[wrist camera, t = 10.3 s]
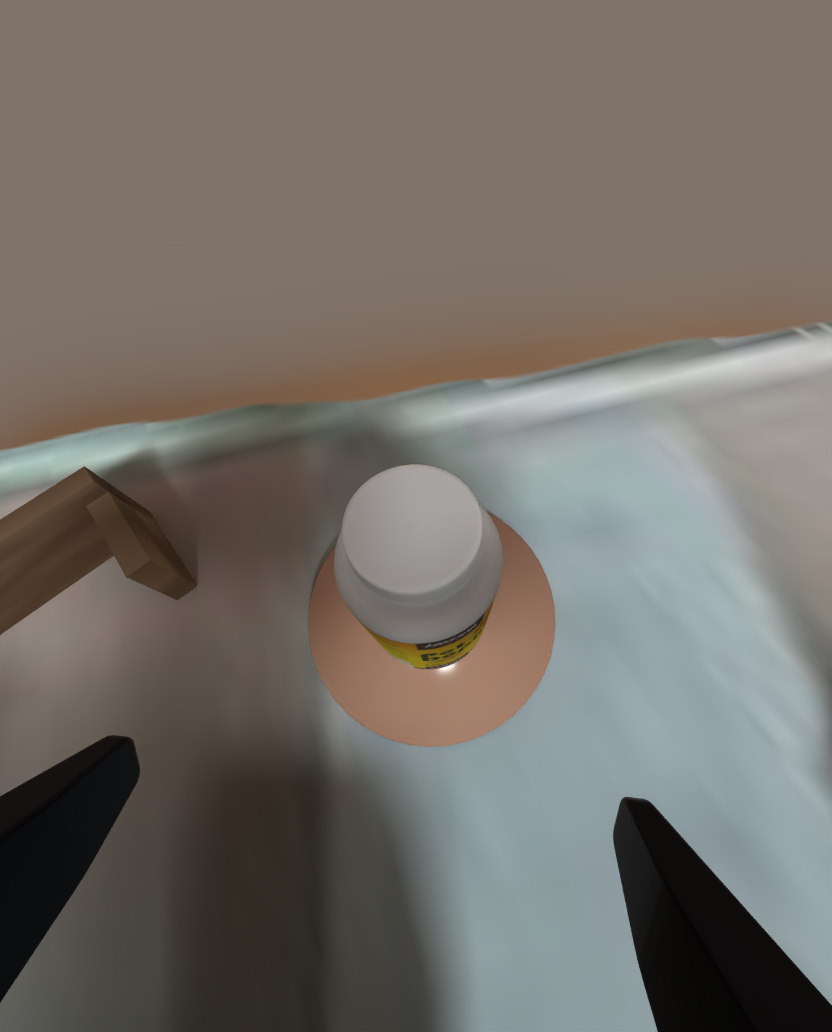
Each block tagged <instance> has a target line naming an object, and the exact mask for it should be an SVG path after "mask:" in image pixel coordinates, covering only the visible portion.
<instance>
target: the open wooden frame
mask: <svg viewBox="0 0 832 1032" xmlns="http://www.w3.org/2000/svg"><path fill="white" fill-rule="evenodd" d="M113 555H114V556H115V558H116V560H117V561H118V563H119V565H120V567H121V568H122V570H123V572H124V574H125V575H126V577H127V578H129V579H132V580H134V581H136V582H138V583H141V584H143V585H145V586H147V587H150V588H152V589H154V590H156V591H158V592H161V593H163V594H165V595H167V596H170V597H172V598H174V599H176V600H178V599H180V598H181V597H182V596H184V595H185V594H186V593H188V592H189V591H190V590H191V589H193V588H194V587H195V586H197V585H196V583H195V582H194V580H193V579H192V577H191V575H190V574H189V572H188V571H187V569H186V568H185V566H184V565H183V563H182V562H181V560H180V558H179V557H178V555H177V554H176V552H175V551H174V549H173V548H172V546H171V545H170V543H169V541H168V540H167V538H166V537H165V535H164V534H163V532H162V531H161V529H160V528H159V526H158V525H157V523H156V521H155V520H154V518H153V517H152V515H151V514H150V512H149V511H148V510H146V509H145V508H143V507H142V506H141V505H139V504H138V503H136V502H135V501H133V500H132V499H131V498H129V497H128V496H126V495H125V494H123V493H122V492H120V491H119V490H118V489H116V488H115V487H113V486H112V485H110V484H109V483H108V482H106V481H105V480H103V479H102V478H100V477H99V476H97V475H96V474H95V473H93V472H92V471H90V470H89V469H87V468H86V467H85V466H84V467H83V468H81V469H79V470H78V471H76V472H75V473H73V474H71V475H70V476H68V477H67V478H65V479H64V480H62V481H60V482H59V483H57V484H56V485H54V486H53V487H51V488H49V489H48V490H46V491H45V492H43V493H42V494H40V495H38V496H37V497H35V498H34V499H32V500H31V501H29V502H27V503H26V504H24V505H23V506H21V507H20V508H18V509H16V510H15V511H13V512H12V513H10V514H8V515H7V516H5V517H4V518H2V519H1V520H0V634H2V633H3V632H5V631H6V630H8V629H9V628H10V627H12V626H13V625H15V624H16V623H18V622H19V621H20V620H22V619H23V618H25V617H26V616H28V615H29V614H30V613H32V612H33V611H35V610H36V609H38V608H39V607H40V606H42V605H43V604H45V603H46V602H48V601H49V600H50V599H52V598H53V597H55V596H56V595H58V594H59V593H60V592H62V591H63V590H65V589H66V588H68V587H69V586H70V585H72V584H73V583H75V582H76V581H78V580H79V579H81V578H82V577H83V576H85V575H86V574H88V573H89V572H91V571H92V570H93V569H95V568H96V567H98V566H99V565H101V564H102V563H103V562H105V561H106V560H108V559H109V558H111V557H112V556H113Z"/></svg>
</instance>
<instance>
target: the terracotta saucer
mask: <svg viewBox="0 0 832 1032" xmlns="http://www.w3.org/2000/svg"><path fill="white" fill-rule="evenodd" d="M487 513H488V512H487ZM488 514H489V513H488ZM489 516H490V517H491V519H492V521H493V522H494V524H495V526H496V528H497V530H498V533H499V536H500V540H501V544H502V549H503V570H502V576H501V581H500V584H499V588H498V591H497V593H496V596H495V599H494V602H493V605H492V608H491V611H490V614H489V616H488V620H487V622H486V625H485V628H484V631H483V633H482V635H481V637H480V639H479V641H478V643H477V644H476V645H475V647H474V648H473V649H472V650H471V651H470V652H469V653H468V654H467V655H466V656H465V657H464V658H462V659H461V660H459V661H458V662H456V663H454V664H452V665H450V666H447V667H444V668H440V669H433V670H425V669H417V668H413V667H410V666H407V665H405V664H402V663H401V662H399V661H397V660H396V659H394V658H393V657H391V656H390V655H389V654H388V653H387V652H386V651H385V650H384V649H383V648H382V647H381V646H380V644H379V643H378V642H377V641H376V640H375V639H374V638H373V637H372V636H371V634H370V633H369V632H368V631H367V630H366V629H365V628H364V627H363V626H362V624H361V623H360V622H359V621H358V620H357V619H356V618H355V616H354V615H353V614H352V613H351V611H350V610H349V608H348V607H347V605H346V604H345V602H344V600H343V598H342V596H341V594H340V592H339V589H338V586H337V583H336V578H335V572H334V554H335V548H336V546H335V548H334V549H333V550H332V551H331V553H330V554H329V556H328V558H327V559H326V561H325V562H324V564H323V566H322V568H321V570H320V573H319V575H318V577H317V579H316V582H315V586H314V589H313V592H312V596H311V602H310V607H309V622H308V626H309V640H310V645H311V650H312V655H313V658H314V661H315V664H316V667H317V670H318V672H319V674H320V676H321V678H322V680H323V682H324V684H325V686H326V688H327V689H328V691H329V692H330V693H331V695H332V696H333V698H334V699H335V701H336V702H337V703H338V704H339V705H340V706H341V707H342V708H343V709H344V710H345V711H346V712H347V714H349V715H350V716H351V717H352V718H354V719H355V720H356V721H357V722H359V723H360V724H361V725H363V726H364V727H366V728H368V729H369V730H371V731H373V732H375V733H376V734H379V735H381V736H383V737H386V738H388V739H391V740H393V741H397V742H401V743H405V744H409V745H418V746H428V747H430V746H448V745H452V744H457V743H462V742H466V741H469V740H472V739H474V738H477V737H480V736H483V735H484V734H486V733H488V732H490V731H492V730H494V729H495V728H497V727H499V726H500V725H502V724H503V723H504V722H506V721H507V720H508V719H509V718H511V717H512V716H513V715H514V714H515V713H516V712H517V711H518V710H519V709H520V708H521V707H522V706H523V705H524V704H525V703H526V702H527V701H528V699H529V698H530V696H531V695H532V694H533V692H534V691H535V690H536V688H537V686H538V684H539V683H540V681H541V679H542V677H543V675H544V673H545V670H546V668H547V665H548V662H549V660H550V657H551V652H552V648H553V643H554V635H555V609H554V602H553V597H552V592H551V589H550V586H549V583H548V580H547V577H546V574H545V572H544V570H543V568H542V566H541V564H540V562H539V560H538V559H537V557H536V556H535V554H534V553H533V551H532V550H531V548H530V547H529V546H528V545H527V543H526V542H525V541H524V540H523V539H522V538H521V537H520V536H519V535H518V534H517V533H516V532H515V531H514V530H513V529H512V528H511V527H510V526H508V525H507V524H505V523H504V522H503V521H501V520H500V519H498V518H497V517H495V516H493V515H491V514H489Z"/></svg>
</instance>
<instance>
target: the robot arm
mask: <svg viewBox="0 0 832 1032" xmlns="http://www.w3.org/2000/svg"><path fill="white" fill-rule="evenodd" d="M139 774H140V766H139V762H138V757H137V753H136V749H135V745H134V742H133V740H132V739H131V738H130V737H124V736H116V735H111V736H107V737H105V738H103V739H101V740H99V741H97V742H96V743H94V744H92V745H90V746H89V747H87V748H85V749H83V750H82V751H80V752H78V753H76V754H74V755H73V756H71V757H69V758H67V759H66V760H64V761H62V762H60V763H58V764H57V765H55V766H53V767H51V768H50V769H48V770H46V771H44V772H43V773H41V774H39V775H37V776H35V777H34V778H32V779H30V780H28V781H27V782H25V783H23V784H21V785H19V786H18V787H16V788H14V789H12V790H11V791H9V792H7V793H5V794H4V795H2V796H0V1002H1V1001H2V999H3V998H4V996H5V995H6V993H7V992H8V990H9V989H10V987H11V986H12V984H13V983H14V981H15V980H16V978H17V977H18V975H19V974H20V972H21V971H22V969H23V968H24V966H25V965H26V963H27V962H28V960H29V959H30V957H31V956H32V954H33V953H34V951H35V950H36V948H37V947H38V945H39V944H40V942H41V941H42V939H43V938H44V936H45V934H46V933H47V931H48V930H49V928H50V927H51V925H52V924H53V922H54V921H55V919H56V918H57V916H58V915H59V913H60V912H61V910H62V909H63V907H64V906H65V904H66V903H67V901H68V900H69V898H70V897H71V895H72V894H73V892H74V891H75V889H76V888H77V886H78V885H79V883H80V881H81V880H82V878H83V877H84V875H85V873H86V872H87V870H88V868H89V867H90V865H91V863H92V862H93V860H94V858H95V856H96V855H97V853H98V851H99V849H100V848H101V846H102V844H103V842H104V840H105V839H106V837H107V835H108V833H109V832H110V830H111V828H112V826H113V824H114V823H115V821H116V819H117V817H118V816H119V814H120V812H121V810H122V808H123V807H124V805H125V803H126V801H127V800H128V798H129V796H130V794H131V792H132V791H133V789H134V787H135V785H136V783H137V781H138V778H139ZM613 841H614V848H615V853H616V858H617V863H618V868H619V873H620V878H621V883H622V887H623V892H624V897H625V902H626V907H627V912H628V917H629V922H630V927H631V932H632V937H633V942H634V946H635V951H636V955H637V960H638V964H639V968H640V971H641V975H642V979H643V982H644V986H645V989H646V993H647V996H648V1000H649V1003H650V1007H651V1010H652V1013H653V1017H654V1020H655V1024H656V1027H657V1031H658V1032H832V1005H831V1004H830V1003H829V1002H828V1001H827V1000H826V999H825V997H824V996H823V995H822V994H821V993H820V992H819V991H818V990H817V988H816V987H815V986H814V985H813V984H812V983H811V982H810V981H809V979H808V978H807V977H806V976H805V975H804V974H803V973H802V972H801V970H800V969H799V968H798V967H797V966H796V965H795V964H794V963H793V961H792V960H791V959H790V958H789V957H788V956H787V955H786V954H785V952H784V951H783V950H782V949H781V948H780V947H779V946H778V945H777V943H776V942H775V941H774V940H773V939H772V938H771V937H770V936H769V934H768V933H767V932H766V931H765V930H764V929H763V928H762V927H761V925H760V924H759V923H758V922H757V921H756V920H755V919H754V918H753V916H752V915H751V914H750V913H749V912H748V911H747V910H746V909H745V907H744V906H743V905H742V904H741V903H740V902H739V901H738V900H737V898H736V897H735V896H734V895H733V894H732V893H731V892H730V891H729V889H728V888H727V887H726V886H725V885H724V884H723V883H722V882H721V880H720V879H719V878H718V877H717V876H716V875H715V874H714V873H713V871H712V870H711V869H710V868H709V867H708V866H707V865H706V864H705V862H704V861H703V860H702V859H701V858H700V857H699V856H698V855H697V854H696V852H695V851H694V850H693V849H692V848H691V847H690V846H689V845H688V843H687V842H686V841H685V840H684V839H683V838H682V837H681V836H680V834H679V833H678V832H677V831H676V830H675V829H674V828H673V827H672V825H671V824H670V823H669V822H668V821H667V820H666V819H665V818H664V816H663V815H662V814H661V813H660V812H659V811H658V810H657V809H656V807H655V806H654V805H653V804H652V803H651V802H649V801H648V800H645V799H640V798H632V797H624V798H623V799H622V800H621V802H620V805H619V809H618V813H617V818H616V822H615V826H614V830H613Z"/></svg>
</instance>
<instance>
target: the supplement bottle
mask: <svg viewBox="0 0 832 1032" xmlns="http://www.w3.org/2000/svg"><path fill="white" fill-rule="evenodd" d="M502 570H503V549H502V544H501V540H500V536H499V533H498V530H497V528H496V526H495V524H494V522H493V521H492V519H491V517H490V516H489V514H488V513H487V512H486V510H485V509H484V508H483V507H482V506H481V505H480V504H479V503H478V502H477V500H476V498H475V496H474V495H473V493H472V492H471V490H470V489H469V488H468V487H467V486H466V485H465V484H464V483H463V482H462V481H461V480H460V479H459V478H457V477H456V476H454V475H453V474H451V473H449V472H447V471H445V470H443V469H440V468H437V467H434V466H429V465H422V464H408V465H401V466H397V467H393V468H390V469H387V470H385V471H382V472H380V473H378V474H376V475H375V476H373V477H372V478H370V479H369V480H368V481H366V482H365V483H364V484H363V485H362V486H361V487H360V488H359V489H358V490H357V491H356V492H355V494H354V495H353V496H352V498H351V500H350V501H349V503H348V505H347V507H346V510H345V513H344V516H343V520H342V529H341V532H340V534H339V537H338V540H337V543H336V548H335V554H334V572H335V578H336V583H337V586H338V589H339V592H340V594H341V596H342V598H343V600H344V602H345V604H346V605H347V607H348V608H349V610H350V611H351V613H352V614H353V615H354V616H355V618H356V619H357V620H358V621H359V622H360V623H361V624H362V626H363V627H364V628H365V629H366V630H367V631H368V632H369V633H370V634H371V636H372V637H373V638H374V639H375V640H376V641H377V642H378V643H379V644H380V646H381V647H382V648H383V649H384V650H385V651H386V652H387V653H388V654H389V655H390V656H391V657H393V658H394V659H396V660H397V661H399V662H401V663H402V664H405V665H407V666H410V667H413V668H417V669H425V670H433V669H440V668H444V667H447V666H450V665H452V664H454V663H456V662H458V661H459V660H461V659H462V658H464V657H465V656H466V655H467V654H468V653H469V652H470V651H471V650H472V649H473V648H474V647H475V645H476V644H477V643H478V641H479V639H480V637H481V635H482V633H483V631H484V628H485V625H486V622H487V620H488V616H489V614H490V611H491V608H492V605H493V602H494V599H495V596H496V593H497V591H498V588H499V584H500V581H501V576H502Z"/></svg>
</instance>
